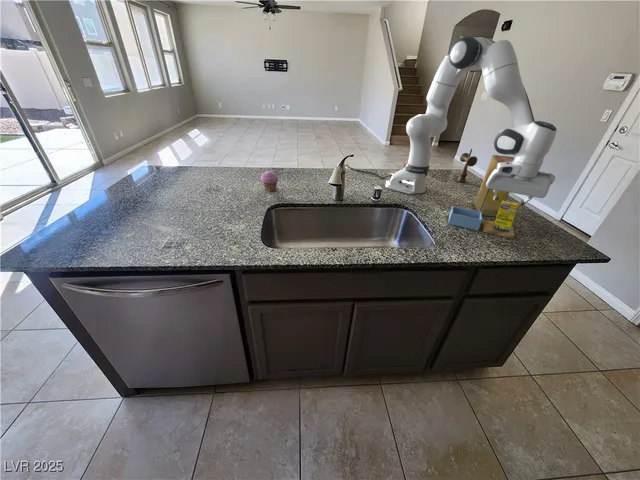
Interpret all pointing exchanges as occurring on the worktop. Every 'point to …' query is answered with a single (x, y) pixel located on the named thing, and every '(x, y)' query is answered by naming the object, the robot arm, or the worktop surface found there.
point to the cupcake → (269, 180)
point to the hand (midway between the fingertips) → (508, 202)
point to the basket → (465, 218)
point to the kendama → (466, 165)
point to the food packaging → (491, 190)
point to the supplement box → (506, 215)
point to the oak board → (489, 229)
